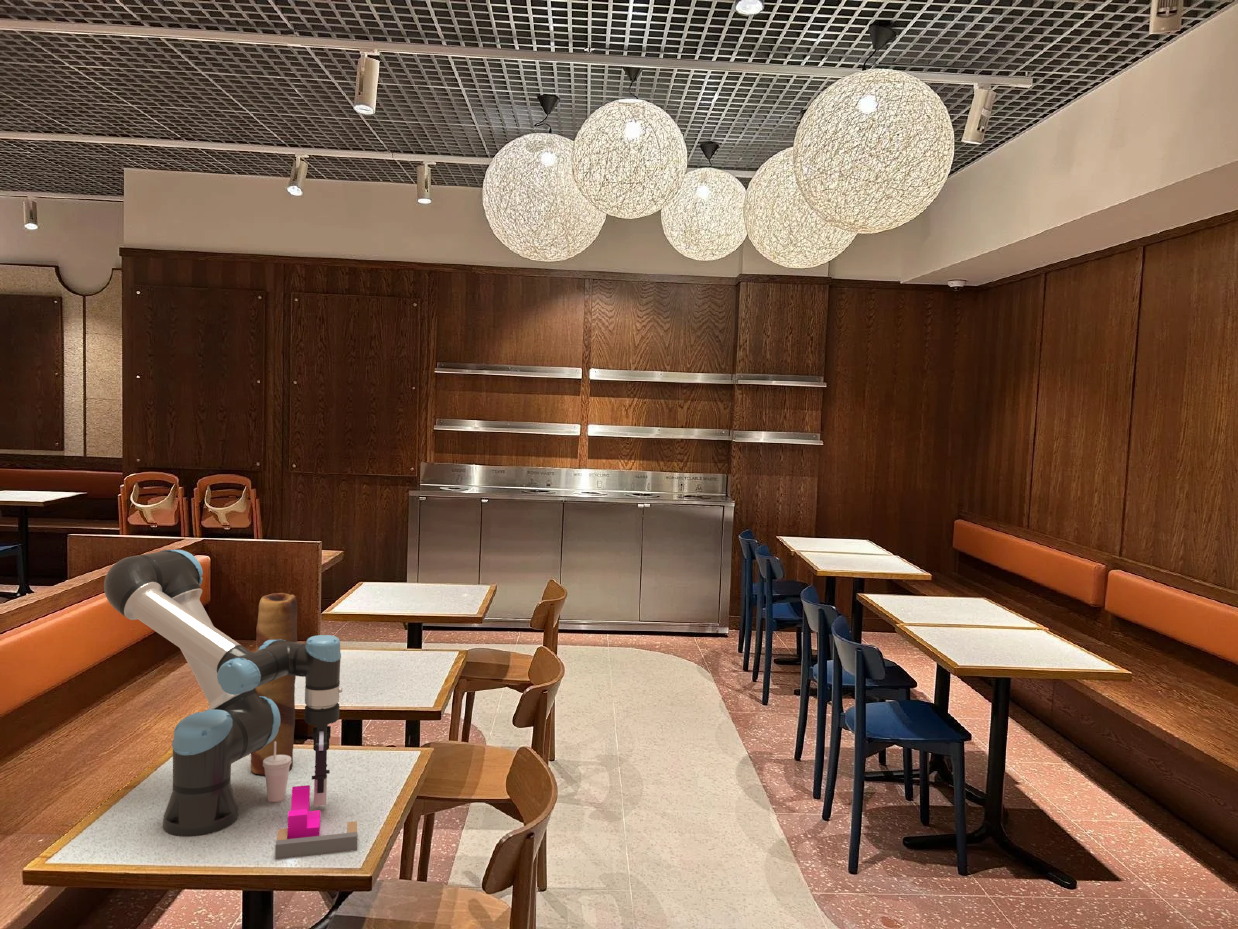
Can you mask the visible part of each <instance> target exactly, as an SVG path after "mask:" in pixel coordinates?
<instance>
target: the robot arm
mask: <svg viewBox="0 0 1238 929" xmlns="http://www.w3.org/2000/svg"><path fill="white" fill-rule="evenodd" d="M203 575H204V571H203V567H202V565H201V563H200V561H199V560H198V559H197V558H196V557H195V556H194V555H193V554H192V553H190V552H188V551H187V550H183V549H164V550H159V551H155V552H150V553H145V554H139V555H132V556H127V557H124V558H122V559H120V560H118V561H117V562H116V563H114V564H113V565H112V566H111V567H110V568H109V570H107V573H106V575H105V578H104V580H103V581H104V582H103V589H104V590H103V591H104V595H105V597H106V599H107V601H108V602H109V604H110V605H111V606H112V608H114V610H116V611H117V612H118V613H119V614H121V615H122V616H123V617H125V618H126V619H129V620H131V621H135V620H138V621H140V622H141V623H143V624H144V625H146V626H148V627H149V628H150V629H151V630H153V631H155V632H156V633H157V634H159V635H160V636H161V637H162V638H165V639H166V640H167V641H169V642H171V643H172V644H173V645H175V646H176V647H178V648H179V649H180V651H181V653H182V654H183V656H184V658H185V661H186V662H187V665H188V666H189V668H190V670H191V672H192V674H193V675H194V677H195V679H196V682H197V683H198V685H199V687H200V689H201V690H202V692H203V695H204V697H205V698H206V700H207V702H208V704H209V706H208V708H207V709H206V710H203V711H202V712H201V711H197V712H194V713H191V714H190V715H187V716H185V717H184V718H182V719H181V720H180V721H179V722H178V723H177V724H176V726H175V728H174V730H173V731H174V732H173V739H172V744H171V746H172V791H171V795H170V797H169V800H168V803H167V805H166V808H165V812H164V814H163V820H162V822H163V823H162V828H163V831H164V832H165V833H167V834H168V835H171V836H175V837H183V838H186V837H187V838H188V837H189V838H190V837H200V836H206V835H210V834H214V833H217V832H220V831H223V830H225V829H227V828H228V827H230V826H232V825H234V824H235V823H236V821H237V820H238V818H239V812H240V811H239V803H238V799H237V798H236V795H235V790H233V786H232V784H231V782H232V780H231V779H232V778H231V777H232V776H231V775H232V774H231V773H232V772H231V771H232V769H231V768H232V764H234V763H235V762H237V761H240V760H242V759H244V758H245V757H247V756H248V755H251V753H253V752H255V751H258V750H260V749H262V748H263V747H264V746H266V745H267V744H269V743H270V742H271V741H273V739H274V738H275V737H276V735H277V733H278V731H279V726H280V713H279V710H278V707H277V706H276V704H275V703H274V702H273V701H272V700H271V699H268V698H267V697H264V696H259V695H258V693H257V691H256V689H255V688H256V687H258V686H261V685H263V684H265V683H268V682H271V681H273V680H275V679H278V678H280V677H283V676H285V675H293V676H296V677H302V678H305V681H304V683H305V686H304V704H305V707H304V721H305V723H306V724H308V725H310V726H312V740H313V744H312V745H313V751H315V753H314V754H315V756H314V757H315V758H314V760H315V763H314V775H311V780H314V782H313V785H314V786H313V789H314V790H313V807H320V806H326V805H327V790H328V789H327V786H328V774H330V773H331V771H330V769H327V767H328V764H327V758H328V757H327V756H328V755H327V754H328V751H329V749H330V738H331V732H332V730H331V729H332V727H331V726H332V724H334V723H336V722H337V721H339V719H340V704H339V702H340V694H341V693H343V688H341V686H340V682H341V681H340V679H341V678H340V677H341V676H340V675H341V674H340V673H341V659H342V652H341V640H340V638H339V637H337V636H335V635H332V634H325V635H324V634H318V635H313V636H310V637H308V638H307V639H306V643H305V642H298V641H297V642H291V641H286V640H268V641H265V642H264V643H263V645H262V646H260V648H259V649H258V651H257V650H255V651H251V650H249V649H248V648H247V647H245V646H243V645H242V644H240V643H239V642H237V641H236V640H235V639H232V638H231V637H230V636H229V635H227V634H225V633H224V632H222V631H221V630H219V629H218V628H216V627H215V626H214V624H213V622H212V620H211V618H210V617H209V615H208V613H207V611H206V610H205V608H204V606H203V604H202V601H201V599H200V598H201V595H202V593H203V589H202V587H201V585H202V583H203V577H202V576H203ZM330 724H331V725H330ZM328 725H329V726H328ZM313 726H314V727H313Z"/></svg>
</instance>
